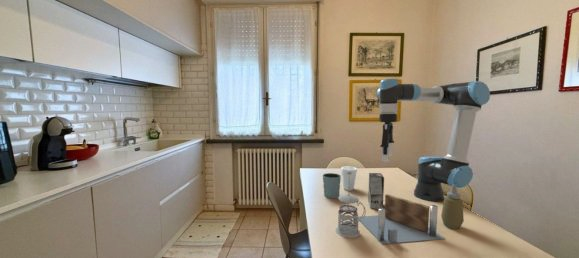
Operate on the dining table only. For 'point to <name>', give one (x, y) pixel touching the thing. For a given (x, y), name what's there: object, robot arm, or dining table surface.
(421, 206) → the wooden plank
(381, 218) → the posts
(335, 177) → the grey-green cup
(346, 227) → the french press
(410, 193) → the dining table surface
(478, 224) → the dining table surface
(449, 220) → the squeeze bottle
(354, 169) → the foam cup
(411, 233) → the mat
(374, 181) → the coffee box
